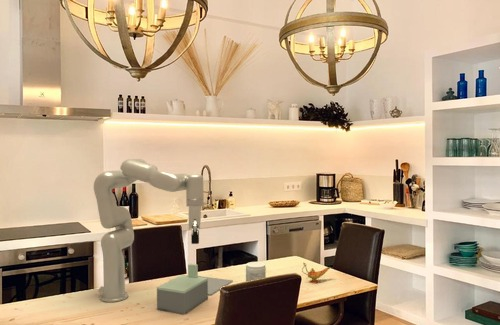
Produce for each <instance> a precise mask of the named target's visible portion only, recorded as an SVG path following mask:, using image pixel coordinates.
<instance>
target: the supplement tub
mask: <svg viewBox="0 0 500 325" xmlns="http://www.w3.org/2000/svg"><path fill="white" fill-rule="evenodd" d="M266 269H267V268H266V263H264V262H262V261H250V262H247V263H246V264H245V282H246V281H251V280H257V279H262V278H266V277H267V276H266V272H267V270H266ZM266 279H267V278H266Z"/></svg>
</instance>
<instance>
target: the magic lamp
mask: <svg viewBox="0 0 500 325" xmlns="http://www.w3.org/2000/svg"><path fill="white" fill-rule="evenodd" d="M302 264H303V267H302V268H301V272H302V273H303V274H305V275H306V276H307V278H309V279H310V280H309V281H308V283H310V284H319V283H320V281H319V280H318V279H319V278H321V277H323V275H325V274H326V273H327V272H328V271H329V269H331V268H332V267H331V266H329V267H326V268H324V269H322V270H319V271H316V270H314V268H313V267H312V268H311V269H310V271H308V269H307V264H306V262H303V263H302ZM304 268H305V271H306V272H304Z"/></svg>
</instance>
